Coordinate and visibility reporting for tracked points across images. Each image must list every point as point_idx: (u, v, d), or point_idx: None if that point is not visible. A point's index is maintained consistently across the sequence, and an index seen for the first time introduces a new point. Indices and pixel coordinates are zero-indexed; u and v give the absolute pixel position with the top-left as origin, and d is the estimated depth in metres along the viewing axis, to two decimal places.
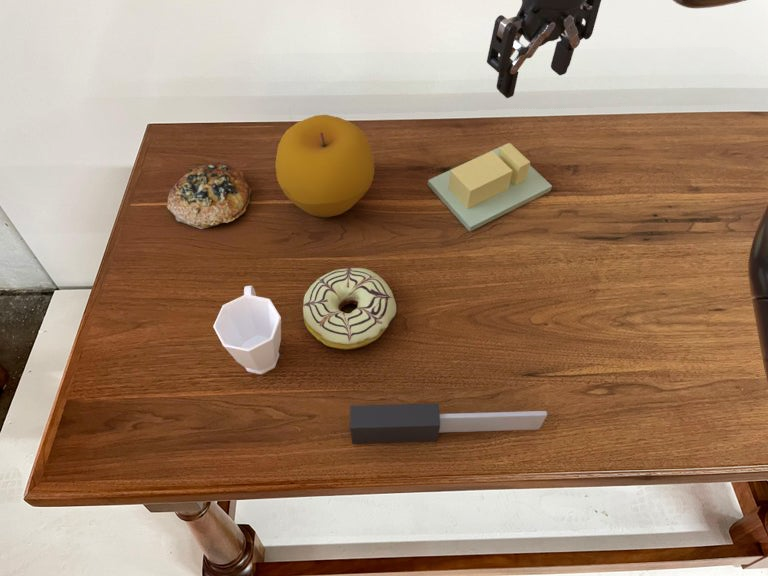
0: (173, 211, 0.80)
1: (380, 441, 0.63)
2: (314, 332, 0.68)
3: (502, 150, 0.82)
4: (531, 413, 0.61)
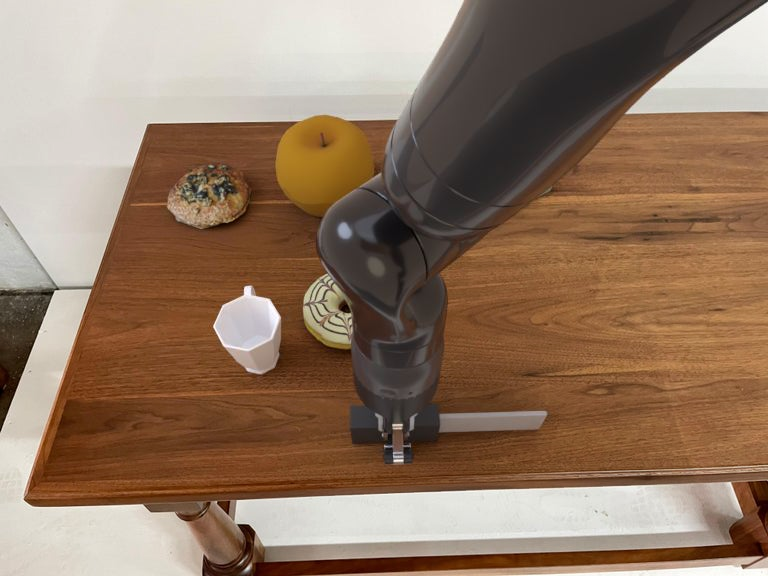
0: (173, 211, 0.80)
1: (380, 441, 0.63)
2: (314, 332, 0.68)
3: None
4: (530, 413, 0.61)
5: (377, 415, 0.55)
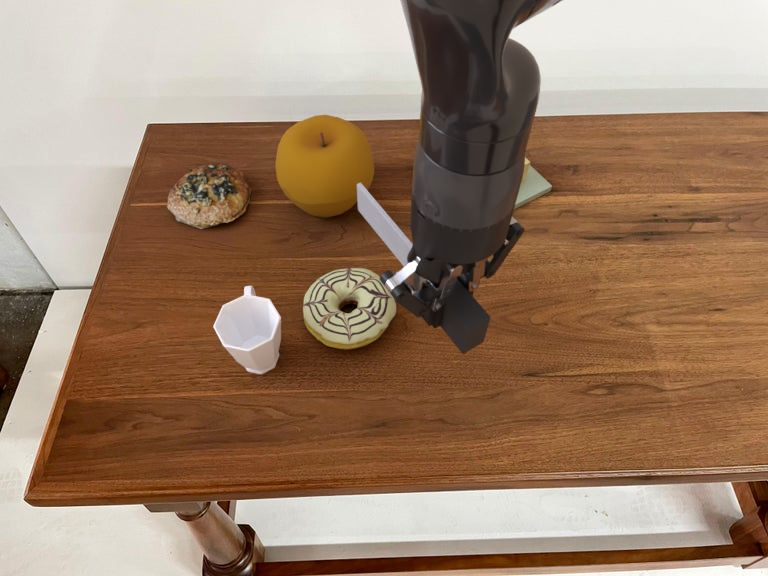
0: (173, 211, 0.80)
1: None
2: (314, 332, 0.68)
3: None
4: (367, 192, 0.60)
5: None
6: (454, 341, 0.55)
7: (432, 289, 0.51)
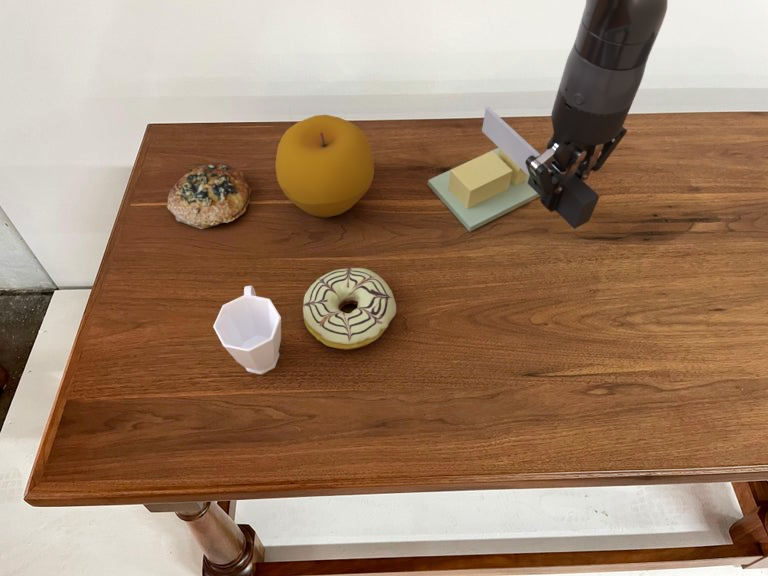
0: (173, 211, 0.80)
1: None
2: (314, 332, 0.68)
3: None
4: (494, 114, 0.79)
5: None
6: (567, 219, 0.73)
7: (558, 174, 0.69)
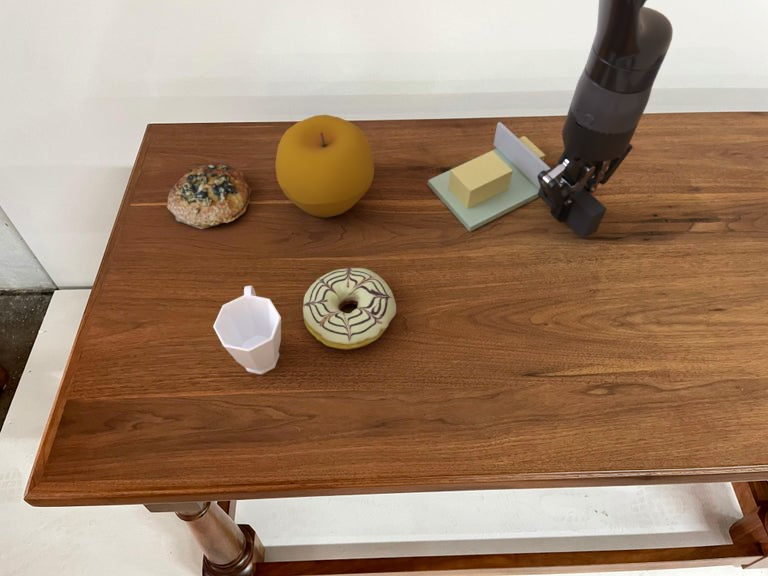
0: (173, 211, 0.80)
1: None
2: (314, 332, 0.68)
3: None
4: (506, 129, 0.83)
5: None
6: (576, 230, 0.78)
7: (568, 187, 0.73)
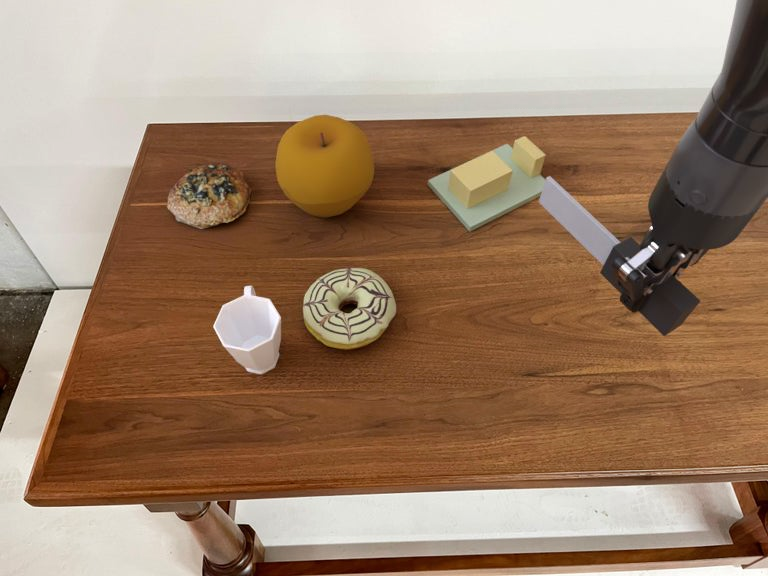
0: (173, 211, 0.80)
1: None
2: (314, 332, 0.68)
3: (517, 143, 0.83)
4: (558, 185, 0.64)
5: None
6: (655, 324, 0.59)
7: (650, 274, 0.55)
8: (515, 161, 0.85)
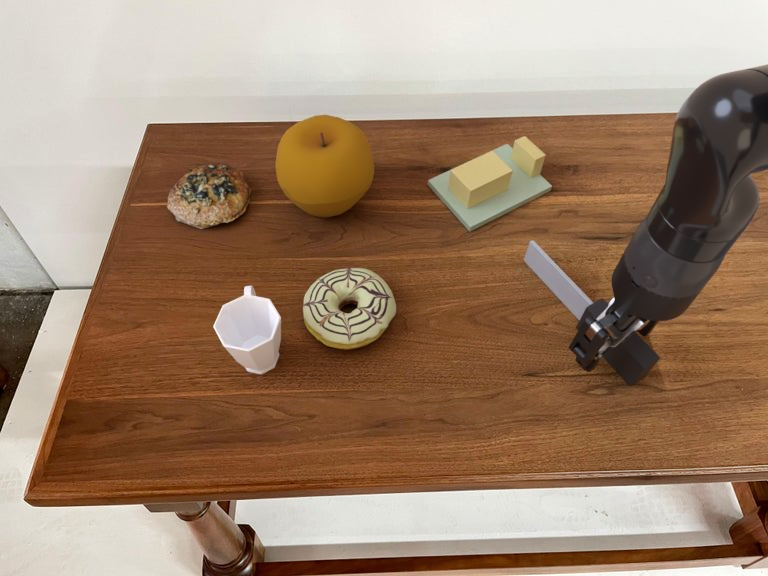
0: (173, 211, 0.80)
1: None
2: (314, 332, 0.68)
3: (517, 143, 0.83)
4: (540, 249, 0.73)
5: None
6: (622, 375, 0.67)
7: (607, 338, 0.62)
8: (515, 161, 0.85)
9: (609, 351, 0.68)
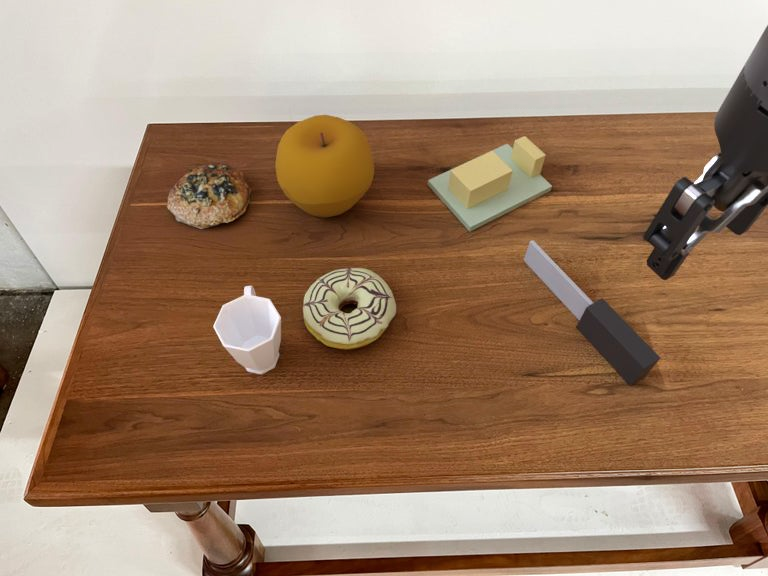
0: (173, 211, 0.80)
1: None
2: (314, 332, 0.68)
3: (517, 143, 0.83)
4: (540, 249, 0.73)
5: None
6: (622, 375, 0.67)
7: (701, 220, 0.42)
8: (515, 161, 0.85)
9: (609, 351, 0.68)
